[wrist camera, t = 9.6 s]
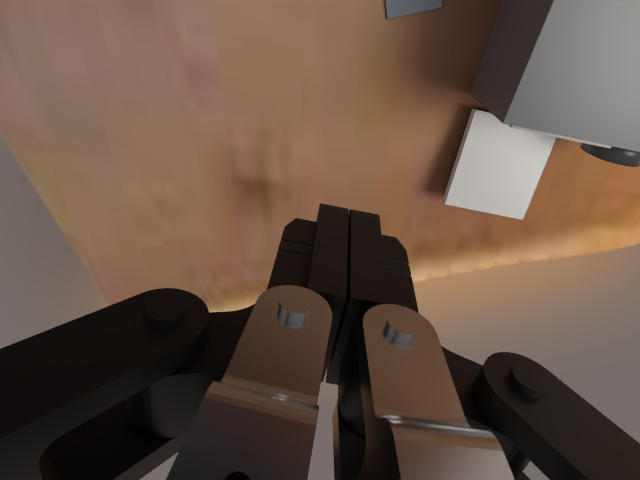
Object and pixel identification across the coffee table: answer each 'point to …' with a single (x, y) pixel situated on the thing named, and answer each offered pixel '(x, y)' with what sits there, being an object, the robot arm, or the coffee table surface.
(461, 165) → the door
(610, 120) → the camera body
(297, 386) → the robot arm
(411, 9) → the memory card
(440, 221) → the coffee table surface
